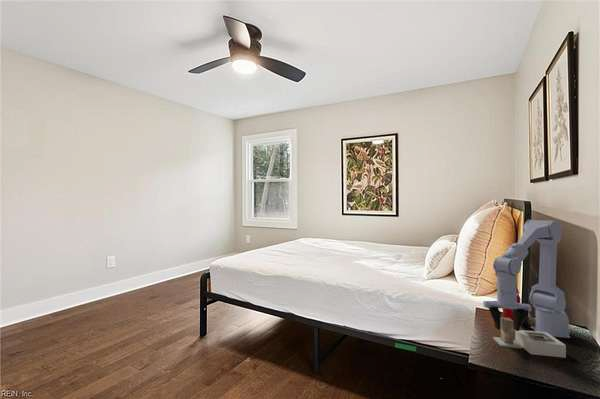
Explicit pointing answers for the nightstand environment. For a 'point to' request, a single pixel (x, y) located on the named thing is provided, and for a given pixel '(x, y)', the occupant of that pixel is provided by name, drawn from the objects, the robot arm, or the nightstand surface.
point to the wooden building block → (507, 330)
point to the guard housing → (540, 343)
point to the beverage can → (510, 310)
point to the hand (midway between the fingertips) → (506, 329)
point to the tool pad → (501, 343)
